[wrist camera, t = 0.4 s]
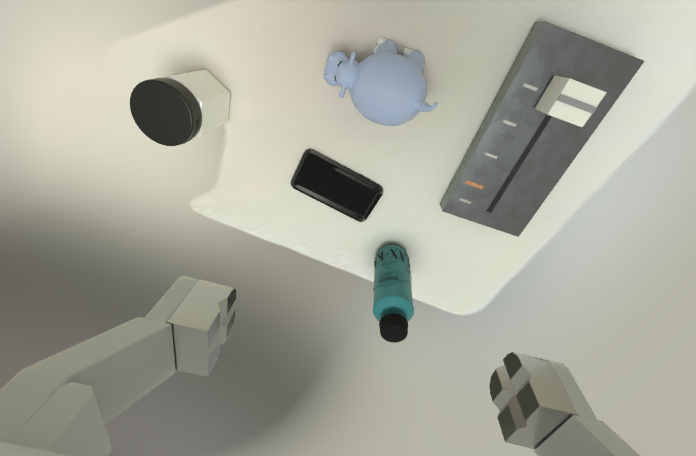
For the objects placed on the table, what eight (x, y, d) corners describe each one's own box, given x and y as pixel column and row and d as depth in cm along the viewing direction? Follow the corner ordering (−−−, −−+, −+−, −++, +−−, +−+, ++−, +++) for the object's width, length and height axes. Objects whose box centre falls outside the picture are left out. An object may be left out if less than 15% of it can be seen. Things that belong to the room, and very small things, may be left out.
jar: (193, 131, 54) (148, 153, 43) (168, 79, 50) (113, 90, 40) (241, 119, 52) (207, 138, 42) (219, 64, 48) (175, 70, 38)
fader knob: (554, 75, 42) (570, 78, 38) (588, 88, 43) (607, 92, 39) (534, 108, 44) (548, 114, 41) (567, 120, 45) (583, 127, 41)
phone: (363, 223, 59) (288, 185, 56) (363, 220, 60) (290, 183, 57) (385, 189, 55) (306, 147, 53) (385, 186, 56) (308, 145, 54)
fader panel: (535, 22, 42) (545, 21, 40) (628, 59, 43) (645, 61, 41) (439, 203, 56) (442, 211, 54) (512, 227, 57) (518, 236, 55)
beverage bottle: (414, 257, 62) (427, 340, 45) (385, 272, 65) (387, 355, 48) (396, 233, 60) (402, 311, 43) (367, 249, 63) (362, 329, 45)
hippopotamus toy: (341, 21, 44) (332, 17, 36) (442, 59, 45) (455, 64, 37) (320, 100, 50) (308, 112, 41) (411, 132, 51) (417, 150, 43)
